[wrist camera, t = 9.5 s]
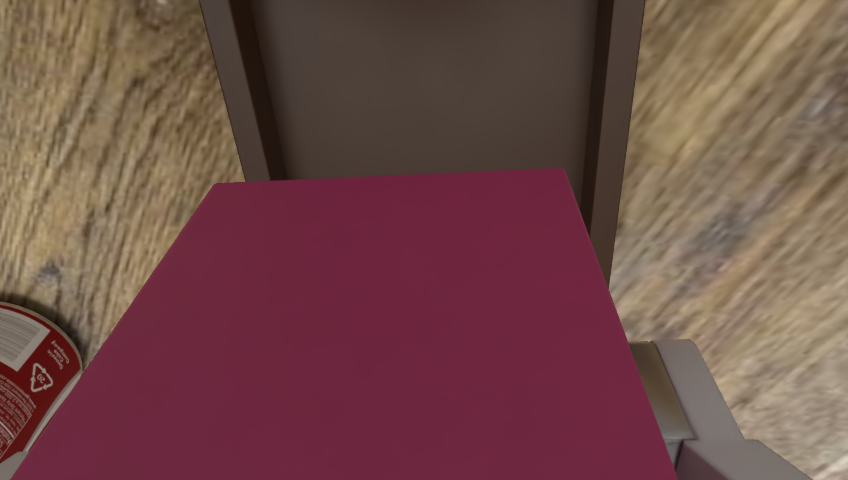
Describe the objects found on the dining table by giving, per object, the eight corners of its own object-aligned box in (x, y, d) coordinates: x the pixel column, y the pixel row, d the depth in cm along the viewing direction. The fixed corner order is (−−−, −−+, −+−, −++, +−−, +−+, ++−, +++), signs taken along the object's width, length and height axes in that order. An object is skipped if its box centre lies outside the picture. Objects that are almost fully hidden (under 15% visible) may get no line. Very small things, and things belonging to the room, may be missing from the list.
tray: (161, -292, 17) (116, -314, 15) (658, -340, 16) (693, -372, 14) (291, 269, 28) (277, 308, 26) (594, 258, 27) (607, 297, 25)
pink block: (213, 181, 9) (-8, 495, 4) (565, 166, 8) (684, 487, 4) (280, 417, 11) (184, 749, 7) (548, 411, 11) (609, 755, 7)
